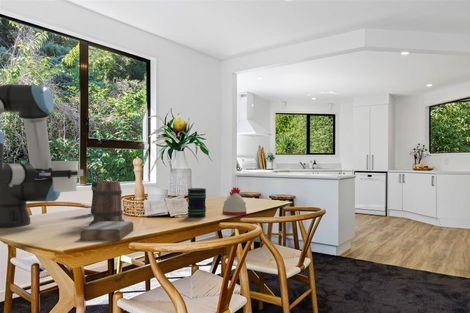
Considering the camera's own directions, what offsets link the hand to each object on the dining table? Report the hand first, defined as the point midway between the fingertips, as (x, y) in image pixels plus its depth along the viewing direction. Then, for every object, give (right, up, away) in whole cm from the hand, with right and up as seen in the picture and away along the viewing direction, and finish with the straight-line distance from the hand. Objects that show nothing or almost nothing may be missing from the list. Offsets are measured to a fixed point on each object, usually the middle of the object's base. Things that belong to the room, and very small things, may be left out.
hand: (75, 172), depth 146 cm
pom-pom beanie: (+66, -26, +57) cm, 91 cm away
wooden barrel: (-9, -26, +52) cm, 59 cm away
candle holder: (-2, -7, -4) cm, 9 cm away
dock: (+15, -25, -4) cm, 30 cm away
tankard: (+5, -26, +21) cm, 33 cm away
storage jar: (+46, -26, +44) cm, 69 cm away
